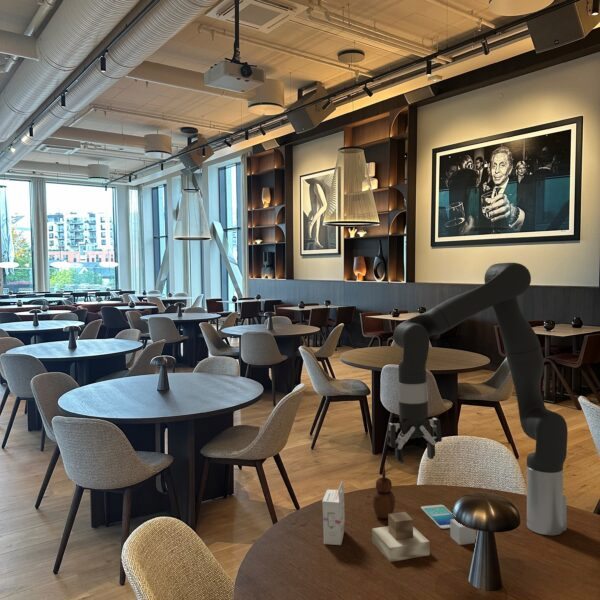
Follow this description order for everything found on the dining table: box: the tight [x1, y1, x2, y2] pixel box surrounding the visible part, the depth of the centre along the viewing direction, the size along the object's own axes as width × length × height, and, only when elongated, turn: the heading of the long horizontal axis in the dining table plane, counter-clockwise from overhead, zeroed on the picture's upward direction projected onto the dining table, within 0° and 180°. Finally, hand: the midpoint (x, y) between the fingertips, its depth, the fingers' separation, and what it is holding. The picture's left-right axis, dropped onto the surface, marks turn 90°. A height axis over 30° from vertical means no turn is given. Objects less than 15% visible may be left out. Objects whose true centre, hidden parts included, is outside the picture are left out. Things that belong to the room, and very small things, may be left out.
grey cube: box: [449, 519, 477, 546], centre depth 146 cm, size 5×5×5 cm
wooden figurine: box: [372, 464, 396, 519], centre depth 161 cm, size 7×6×15 cm
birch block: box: [371, 525, 431, 563], centre depth 142 cm, size 11×11×4 cm
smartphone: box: [420, 504, 454, 531], centre depth 160 cm, size 8×1×15 cm
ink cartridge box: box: [321, 479, 346, 546], centre depth 148 cm, size 9×5×15 cm, turn 168°
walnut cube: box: [387, 511, 414, 540], centre depth 142 cm, size 5×5×5 cm
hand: (415, 460), depth 143 cm, fingers open, 8 cm apart
